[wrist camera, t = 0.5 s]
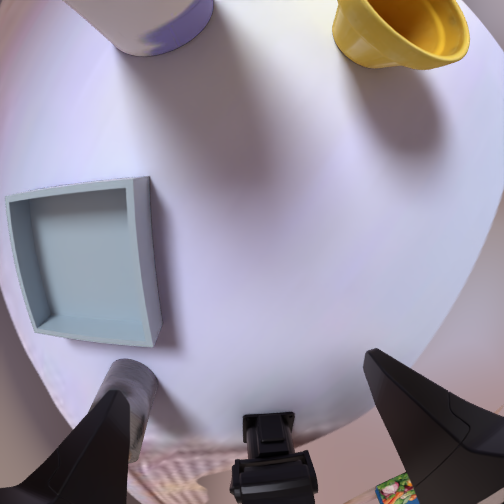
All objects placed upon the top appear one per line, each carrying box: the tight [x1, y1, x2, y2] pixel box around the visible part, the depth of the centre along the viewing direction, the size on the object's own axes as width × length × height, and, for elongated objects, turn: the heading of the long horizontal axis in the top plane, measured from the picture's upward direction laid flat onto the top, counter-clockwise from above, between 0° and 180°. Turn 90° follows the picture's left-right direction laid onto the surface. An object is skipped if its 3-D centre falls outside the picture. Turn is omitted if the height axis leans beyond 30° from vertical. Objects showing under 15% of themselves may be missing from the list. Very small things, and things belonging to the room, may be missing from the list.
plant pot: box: [332, 0, 470, 70], centre depth 14 cm, size 10×10×10 cm
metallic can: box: [88, 359, 158, 463], centre depth 22 cm, size 6×6×12 cm
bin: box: [5, 176, 163, 347], centre depth 21 cm, size 14×14×4 cm
